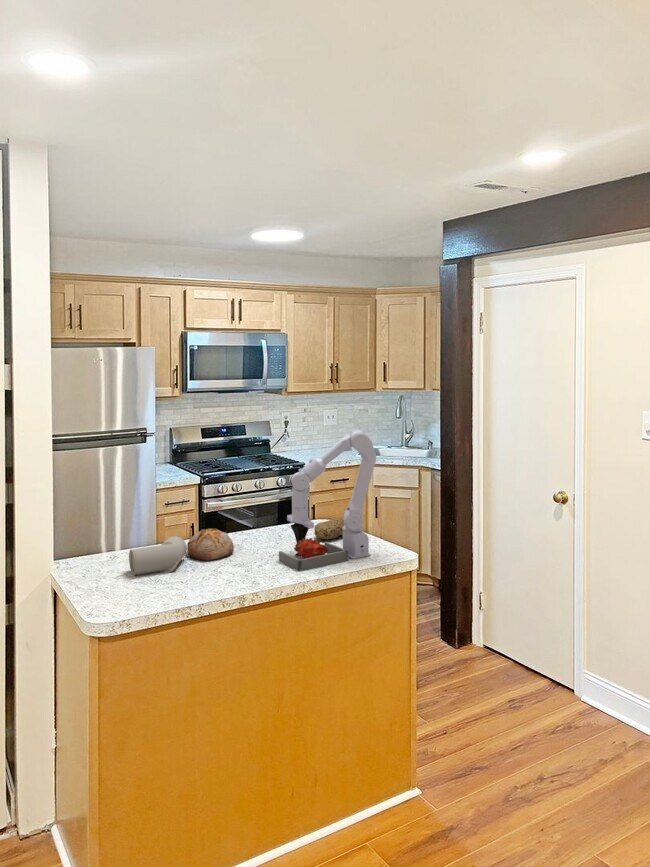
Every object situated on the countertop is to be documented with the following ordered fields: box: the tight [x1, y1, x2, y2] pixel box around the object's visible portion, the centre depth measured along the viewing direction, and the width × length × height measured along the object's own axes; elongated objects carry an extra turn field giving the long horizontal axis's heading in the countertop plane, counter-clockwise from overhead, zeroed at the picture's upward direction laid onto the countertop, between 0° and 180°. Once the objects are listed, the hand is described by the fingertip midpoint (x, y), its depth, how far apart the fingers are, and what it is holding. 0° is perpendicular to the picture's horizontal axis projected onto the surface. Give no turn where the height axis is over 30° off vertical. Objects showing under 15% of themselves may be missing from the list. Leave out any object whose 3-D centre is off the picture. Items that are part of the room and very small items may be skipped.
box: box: [278, 541, 349, 572], centre depth 242 cm, size 13×20×4 cm, turn 124°
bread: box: [186, 528, 235, 562], centre depth 251 cm, size 16×20×10 cm
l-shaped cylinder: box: [128, 535, 187, 576], centre depth 235 cm, size 18×11×20 cm
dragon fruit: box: [294, 537, 329, 559], centre depth 242 cm, size 8×8×12 cm
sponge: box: [313, 516, 345, 540], centre depth 273 cm, size 13×8×20 cm
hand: (300, 544), depth 248 cm, fingers closed
